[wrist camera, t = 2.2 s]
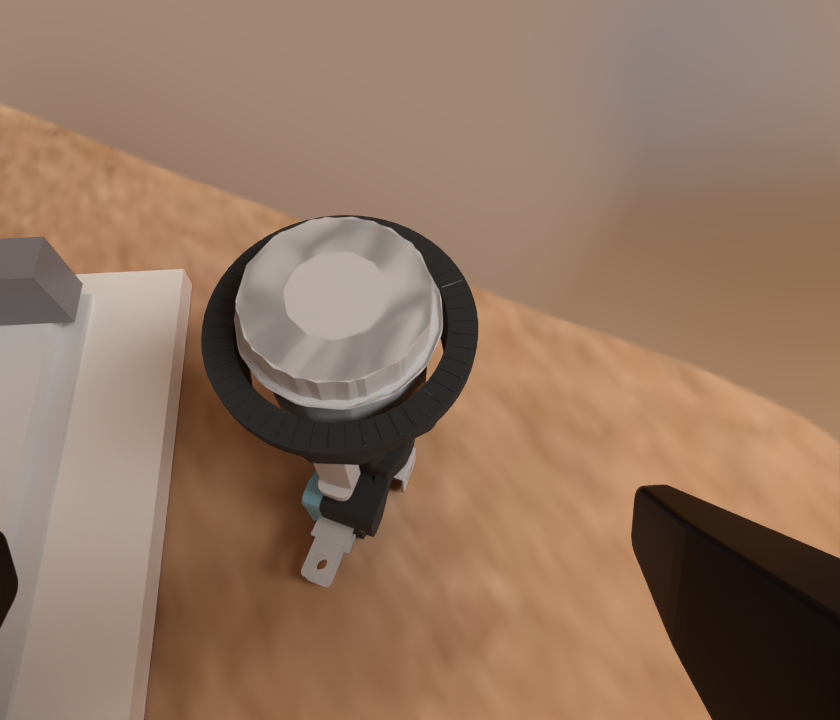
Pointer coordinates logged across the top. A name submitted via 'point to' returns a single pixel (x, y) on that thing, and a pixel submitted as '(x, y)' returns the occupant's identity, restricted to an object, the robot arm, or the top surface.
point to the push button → (341, 360)
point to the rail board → (84, 477)
